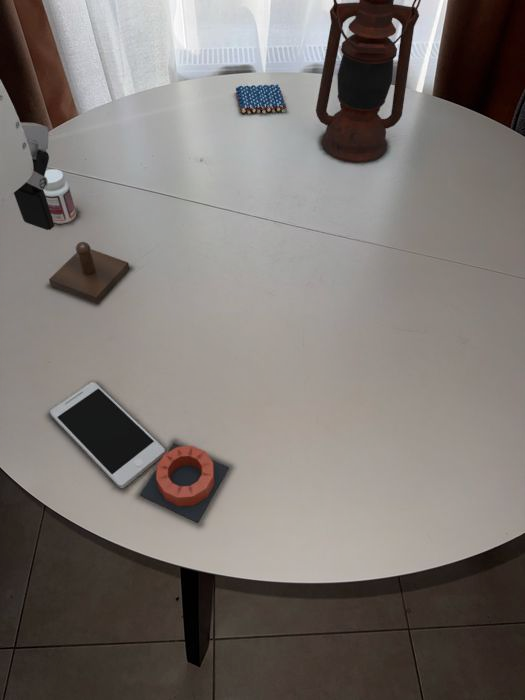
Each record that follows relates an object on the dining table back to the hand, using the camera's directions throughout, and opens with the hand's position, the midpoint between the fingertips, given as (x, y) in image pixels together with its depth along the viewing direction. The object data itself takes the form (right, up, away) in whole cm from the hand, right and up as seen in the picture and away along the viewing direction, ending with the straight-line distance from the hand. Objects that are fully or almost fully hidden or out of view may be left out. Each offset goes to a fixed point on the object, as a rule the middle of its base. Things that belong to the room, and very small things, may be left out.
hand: (4, 254), depth 52 cm
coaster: (+14, -25, +19) cm, 34 cm away
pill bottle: (-13, +15, +52) cm, 56 cm away
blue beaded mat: (+23, +48, +80) cm, 96 cm away
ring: (+14, -25, +19) cm, 34 cm away
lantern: (+43, +35, +70) cm, 89 cm away
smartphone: (+3, -20, +23) cm, 31 cm away
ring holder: (-5, +3, +42) cm, 42 cm away
